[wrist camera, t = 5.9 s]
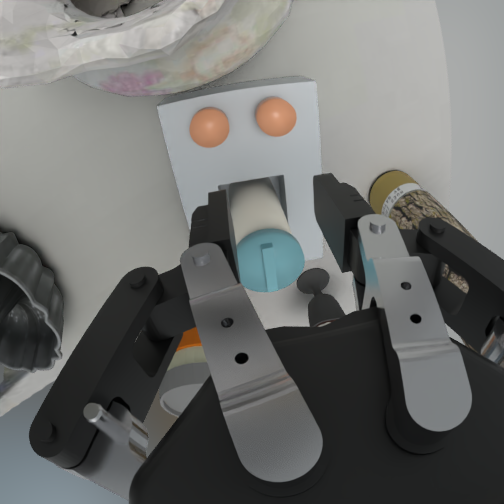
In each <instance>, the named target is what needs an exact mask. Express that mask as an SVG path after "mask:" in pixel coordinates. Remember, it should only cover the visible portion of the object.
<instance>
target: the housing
mask: <svg viewBox="0 0 504 504" xmlns="http://www.w3.org/2000/svg"><path fill="white" fill-rule="evenodd" d="M268 97H280V98H282V99H284V100H286V101H287V102H288V103H289V104H291V105H292V107H293V108H294V109H295V112H296V116H297V120H296V124H295V126H294V128H293V129H292V130H291V131H290V132H289V133H288V134H286V135H284V136H280V137H273V136H269V135H267V134H266V133H264V132H263V131H262V130H261V128H260V127H259V125H258V123H257V121H256V118H255V111H256V108H257V106H258V104H259V103H260V102H261V101H262V100H264V99H266V98H268ZM205 107H215V108H218V109H220V110H222V111H223V112H224V113H225V114H226V116H227V118H228V122H229V134H228V137H227V138H226V140H225V141H224V142H223V143H222V144H220V145H218V146H216V147H212V148H206V147H202V146H200V145H198V144H196V143H195V142H194V141H193V139H192V138H191V135H190V131H189V128H190V123H191V120H192V118H193V116H194V114H195V113H196V112H197V111H199V110H200V109H202V108H205ZM157 110H158V114H159V118H160V123H161V127H162V131H163V135H164V139H165V142H166V146H167V150H168V154H169V158H170V162H171V165H172V169H173V173H174V177H175V180H176V184H177V188H178V191H179V195H180V198H181V202H182V205H183V209H184V212H185V216H186V219H187V223H188V226H189V229H191V218H192V213H193V212H194V211H195V209H196V208H197V207H198V206H203V205H208V193H209V192H214V191H219V190H225V189H226V192H227V196H228V201H229V193H228V189H229V185H230V183H235V182H241V181H247V180H253V179H259V178H265V177H269V178H270V180H271V182H272V184H273V187H274V189H275V192H276V194H277V197H278V199H279V202H280V204H281V207H282V209H283V212H284V214H285V217H286V220H287V222H288V225H289V227H290V230H291V233H292V235H293V236H294V237H295V238H296V239H297V240H298V242H299V244H300V246H301V248H302V251H303V254H304V258H305V261H307V260H313V259H318V258H323V233H322V231H321V229H320V227H319V225H318V223H317V221H316V218H315V213H314V194H313V176H314V175H320V174H322V165H321V143H320V126H319V111H318V97H317V85H316V81H314V80H312V79H309V78H306V77H304V76H293V77H282V78H273V79H264V80H256V81H249V82H242V83H236V84H230V85H224V86H218V87H213V88H207V89H202V90H197V91H193V92H188V93H183V94H179V95H175V96H170V97H166V98H164V99H163V101H162V102H161V103H160V104H159V105H158V106H157ZM229 206H230V202H229Z"/></svg>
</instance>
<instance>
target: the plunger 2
mask: <svg viewBox="0 0 504 504" xmlns="http://www.w3.org/2000/svg"><path fill="white" fill-rule="evenodd" d="M255 118H256V121H257V123H258V125H259V127H260V128H261V130H262V131H263V132H264V133H266V134H267V135H269V136H273V137H280V136H284V135H286V134H288V133H289V132H290V131H291V130H292V129H293V128H294V126H295V124H296V120H297V116H296V112H295V109H294V108H293V107H292V105H291V104H289V103H288V102H287V101H286V100H284V99H282V98H280V97H268V98H266V99H264V100H262V101H261V102H260V103H259V104H258V106H257V108H256V111H255Z"/></svg>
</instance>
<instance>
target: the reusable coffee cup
mask: <svg viewBox="0 0 504 504" xmlns="http://www.w3.org/2000/svg"><path fill="white" fill-rule="evenodd" d="M210 374H211V373H210V369H209V366H208V363H207V360H206V357H205V354H204V350H203V347H202V344H201V341H200V337H199V334H198V331H197V327H195V328H192V329H190V330H188V331H185V332H183V337H182V339H181V341H180V344H179V346H178V348H177V350H176V352H175V354H174V356H173V358H172V361H171V363H170V365H169V367H168V369H167V371H166V374H165V376H164V378H163V380H162V382H161V385H160V387H159V395H160V404H161V406H162V408H163V409H164V410H166V411H167V412H168V413H170V414H172V415H174V416H176V417H179V416H180V415H181V413H182V412H183V411H184V409H185V408H186V407H187V405H188V404H189V403H190V401H191V400H192V399H193V397H194V396H195V395H196V393H197V392H198V391H199V389H200V388H201V387H202V385H203V384H204V382H205V381H206V380H207V378H208V377H209V376H210Z"/></svg>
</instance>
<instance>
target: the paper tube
mask: <svg viewBox="0 0 504 504" xmlns="http://www.w3.org/2000/svg"><path fill="white" fill-rule="evenodd" d="M370 205H371V207H372V209H373V211H374V212H375V213H376V214H379V215H384V216H387V217H389V218H391V219H392V220H393V221H394V222H395V223H396V225H397V227H398V228H399V229H412V230H418V225H419V222H420V221H421V220H422V219H424V218H429V217H433V218H439V219H442V220H444V221H446V222H448V223H449V224H451V225H452V226H454V227H456V228H457V229H459V230H460V231H462V232H463V233H465V234H466V235H468V236H470V237H471V238H473V239H474V240H476V239H475V238H474V237H473V236H472V235H471V234H470V233H469V232H468V231H467V230H466V229H465V228H464V227H463V225H461V223H460V222H459V221H458V220H457V219H455V217H454V216H453V215H451V213H450V212H449V211H447V210H446V209H445V208H444V207H443V206H442V205H441V204H440V203H439V202H438V201H437V200H436V199H435V198H434V197H433V196H432V195H430V194H429V193H428V192H427V191H426V190H425V189H424V188H423V187H422V186H420V185H419V184H418V183H417V182H416V181H414V180H413V179H412V178H411V177H410V176H409V175H407V174H406V173H404V172H401V171H391V172H388V173H385V174H384V175H382V176H381V177H380V178H378V179H377V181H376V182H375V183H374V185H373V187H372V189H371V193H370ZM476 241H477V240H476ZM477 242H478V241H477ZM443 276H444V277H445V278H447V279H448V280H449V281H450V282H452V283H453V284H454V285H456V286H457V287H458V288H459V289H461V290H462V291H463V292H465V293H466V294H467V292H468V289H469V286H468V282H467V280H466V279H465V278H464V277H463V276H462V275H460V274H459V273H458V272H456V271H455V270H454V269H452V268H451V267H449V266H448V265H447V264H446V265H445V269H444V272H443ZM461 339H462V338H461ZM462 340H463V342H464V344H465V346H467V347H468V348H470V349H472V350H474V351H475V352H477V351H476V350H475V349H473V348H472V347H471V346H470V345H469V344H468V343H467V342H466V341H465V340H464V339H462ZM477 353H478V352H477Z"/></svg>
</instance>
